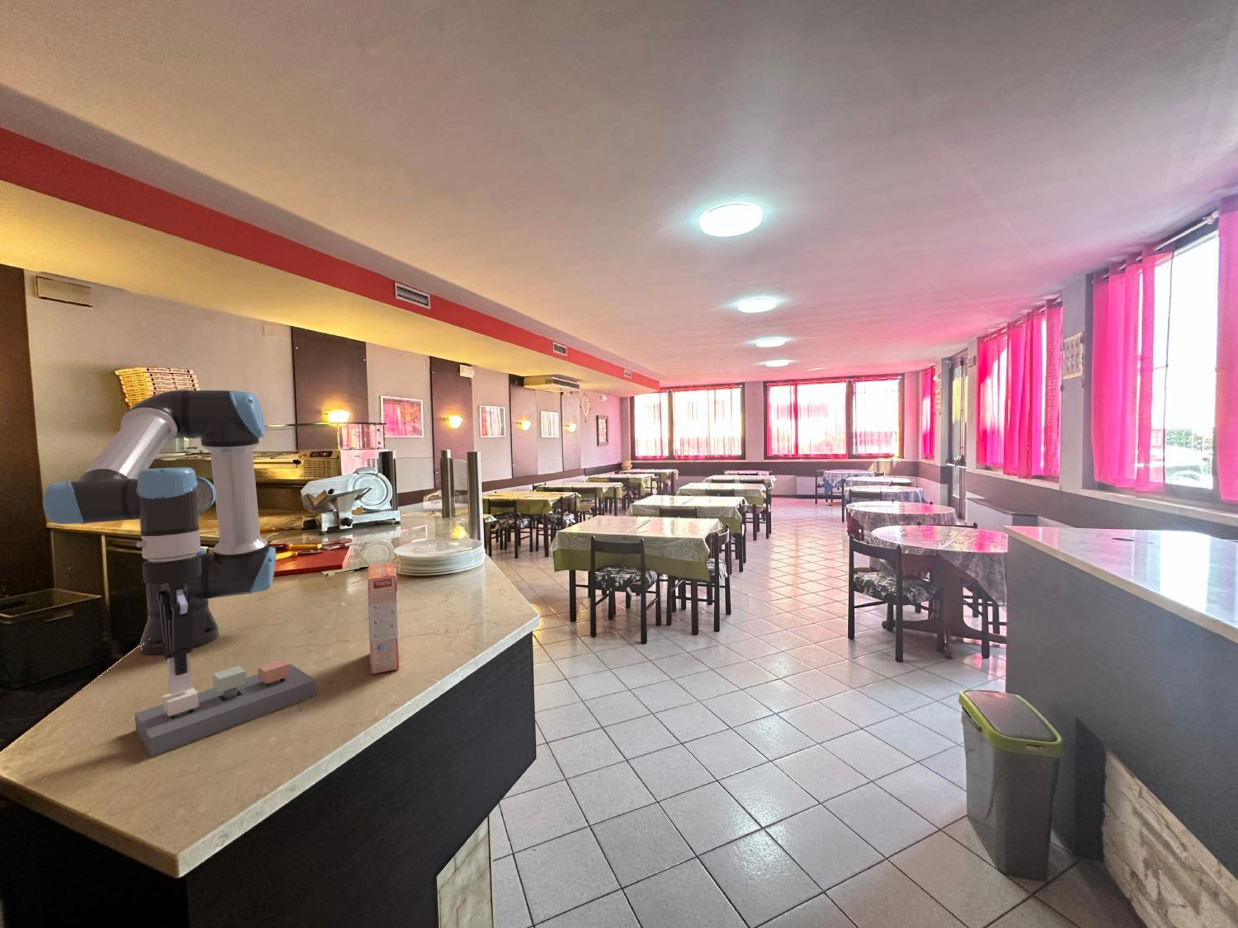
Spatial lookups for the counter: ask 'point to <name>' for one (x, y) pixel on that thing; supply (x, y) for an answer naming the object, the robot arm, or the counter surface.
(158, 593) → the robot arm
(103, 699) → the counter surface
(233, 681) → the key sage
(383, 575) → the cracker box
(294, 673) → the console
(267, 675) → the key terracotta
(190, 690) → the key ivory
